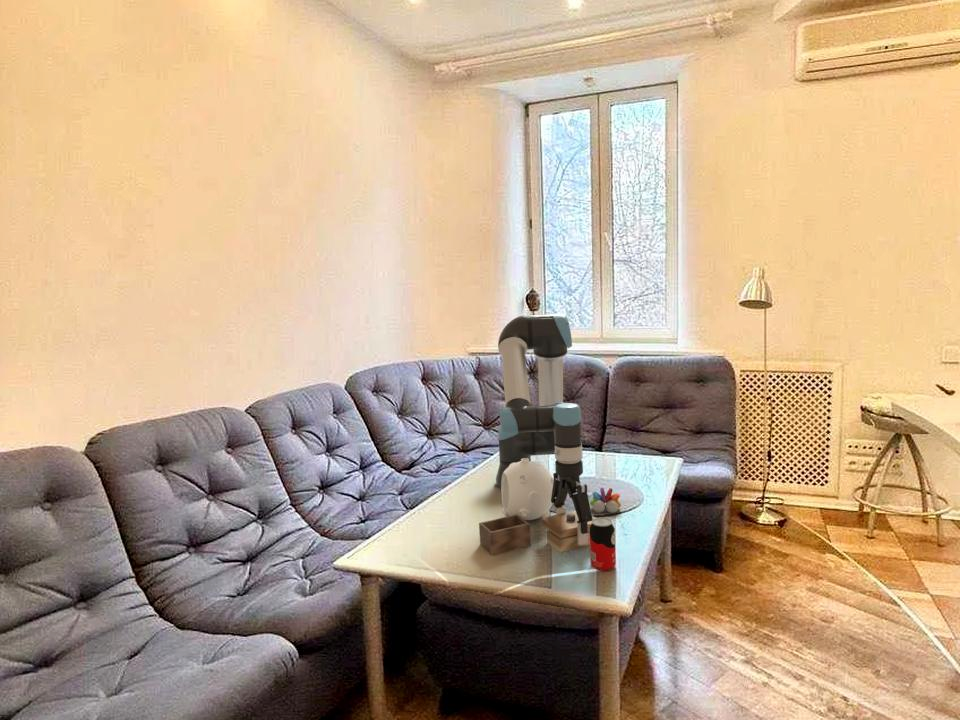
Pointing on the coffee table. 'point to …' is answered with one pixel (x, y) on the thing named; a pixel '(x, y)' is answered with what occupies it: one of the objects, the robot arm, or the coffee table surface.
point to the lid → (563, 524)
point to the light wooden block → (564, 541)
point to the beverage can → (602, 544)
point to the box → (504, 534)
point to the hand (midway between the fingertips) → (571, 536)
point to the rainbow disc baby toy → (605, 501)
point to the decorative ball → (526, 490)
